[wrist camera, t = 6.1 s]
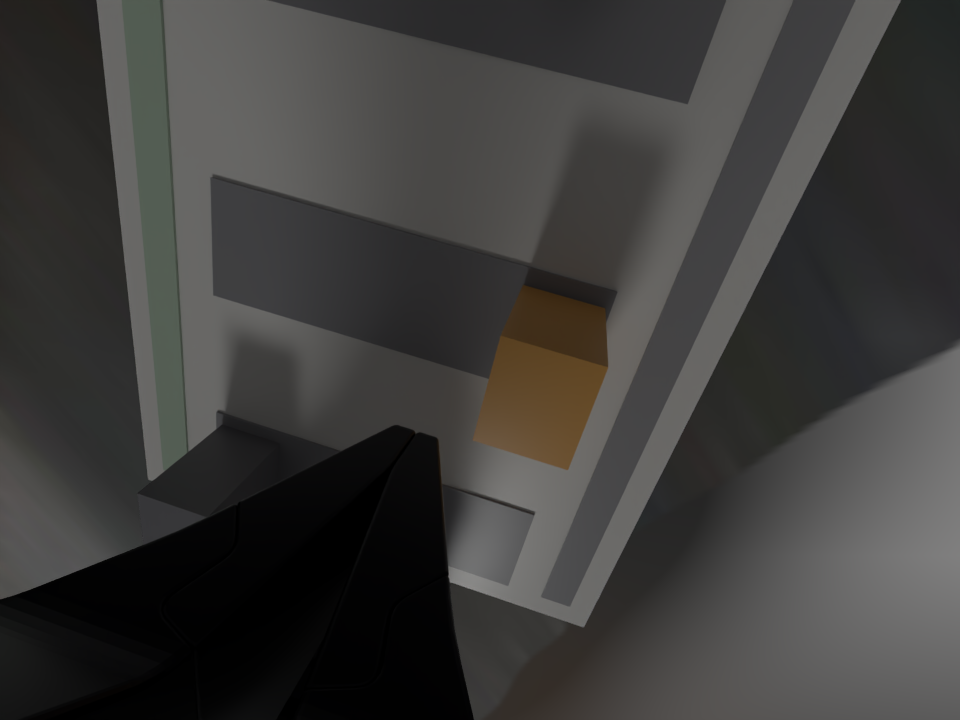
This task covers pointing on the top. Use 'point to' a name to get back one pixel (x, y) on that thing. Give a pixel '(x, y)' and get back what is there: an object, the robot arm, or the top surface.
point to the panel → (453, 236)
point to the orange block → (544, 377)
